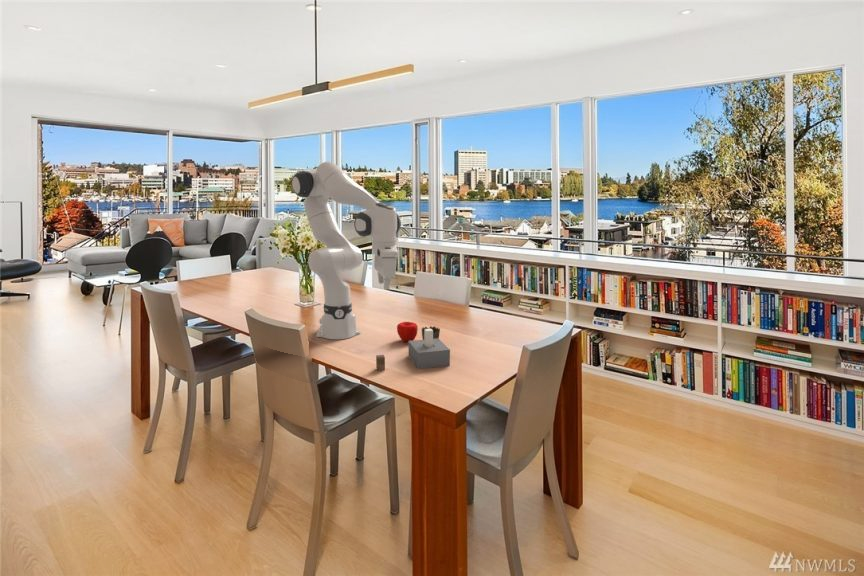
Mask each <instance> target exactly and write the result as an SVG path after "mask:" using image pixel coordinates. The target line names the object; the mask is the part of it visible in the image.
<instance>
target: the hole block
mask: <svg viewBox="0 0 864 576" xmlns="http://www.w3.org/2000/svg"><path fill="white" fill-rule="evenodd" d="M408 357H409V358H410V360H411V361H412V362H413V364H414V365H415V367H416V368H417V369H418V370H419V369H427V368H438V367H446V366H447V367H448V366H450V364H451V349H450V348H449V347H448V346H447V345H446V344H445V343H444V342H443V341H442V340H441V339H438V338H437V339H433V347H424V340H423V339H416V340H415V339H414V340H413V341H409V342H408Z"/></svg>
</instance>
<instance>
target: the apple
mask: <svg viewBox="0 0 864 576" xmlns="http://www.w3.org/2000/svg"><path fill="white" fill-rule="evenodd" d="M396 330H397V334H398V336H399V338H400V340H401V341H402V342H405V343H409V341H414V340H415V339H416V337H417V335H418V330H419V328H418V325H417V323H415V322H413V321H403V322H399V323H398V324H397V325H396Z"/></svg>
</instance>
